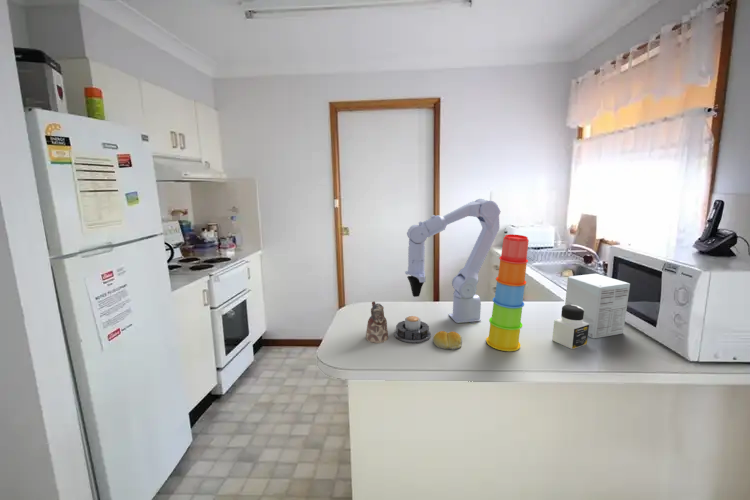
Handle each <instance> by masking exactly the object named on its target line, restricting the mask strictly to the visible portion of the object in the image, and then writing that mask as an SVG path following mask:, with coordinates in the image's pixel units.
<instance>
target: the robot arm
mask: <svg viewBox="0 0 750 500" xmlns="http://www.w3.org/2000/svg"><path fill="white" fill-rule="evenodd" d="M499 207H500V206H498V204H497V202H495V201H493V200H487V199H485V198H478V199H476V200H472V201H470V202H468V203H466V204H463V205H462V206H460V207H458V208H456V209H455V210H453V211H450V212H448V213H447V214H445V215H443V216H442V215H438V214H436V215H435V214H432V215H430V218H428V219H426V220H424V221H419V222H418V224H413V225H410V226H409V228H408V229H407V232H406V236H407V238H408V247H407V248H408V254H407V255H408V257H407V258H408V259H407V260H408V263H407V264H408V266H407V270H406V271H404V274H405V275H408V276H407V280H408V282H409V286H410V289H411V293H412V297H414V298H415V297H417V298H418V297H420V295H421V292H422V289H423V288H422V287H423V285H424V283H426V276H425V275H426V271H425V262H426V261H425V257H426V256H425V255H426V254H425V253H426V250H425V249H426V247H425V245H426V244H425V243H426V241H427V238H431V237H433V236H435V235H436V234H439V233H441V232H443V231H445V230H446V228H447V225H450V224H452V223H455V222H457V221H460V220H462V219H465V218H467V217H475V218H477V219H478V221H479V223H480V225H481V227H482V228H481V230H480V233H479V235H478V237H477V239H476V241H475V244H474V245H473V247H472V250H471V252H470V254H469V256H468V257H467V260H466V263H465V265H464V267H462V268H461V269H460V270H459V271H458V273H457V274H456V275H455V276H454V277H453V279H452V280H451V284H452V287H453V289H454V291H453V296H452V297H453V298H452V312H451V313H449V314H448V316H449V317H450V318H451V319H452V320H453V321H454V322H455V323H456V324H460V323H473V322H475V323H476V322H481V320H482V319H481V309H482V307H481V306H482V304H481V298H480V296H479V295H478V294H476V293H477V285H478V283H479V273H480V270H481V269H482V266H483V264H484V262H485V261H486V257H487V256H488V254H489V251H490V249H491V248H492V245H493V243H494V241H495V239H496V237H497V235H498V232H499V231H500V214H501V210H500V208H499Z"/></svg>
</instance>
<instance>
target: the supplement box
mask: <svg viewBox="0 0 750 500" xmlns="http://www.w3.org/2000/svg"><path fill="white" fill-rule="evenodd" d="M630 288H631V283H629V282H626V281H623V280H619V279H616V278H611V277H610V276H606V275H602V274H599V273H589V274H582V275H581V274H580V275H572V276H570V275H569V276H568V277H567V281H566V293H565V301H564V302H565V303H564V305H576V306H579V307H581V308H583V310H584V316H583V321H584V322H586V323H589V330H588V337H590V338H592V339H599V338H600V339H601V338H604V337H609V336H616V335H621V334H622V335H623V334H624V330H625V323H626V315H627V314H626V313H627V308H628V302H629V301H628V300H629V295H630Z"/></svg>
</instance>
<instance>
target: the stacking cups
mask: <svg viewBox="0 0 750 500" xmlns="http://www.w3.org/2000/svg"><path fill="white" fill-rule="evenodd" d="M528 249H529V238H528V236H525V235H521V234H510V233H509V234H506V235H505V236H504V237H503V240H502V249H501V255H500V256H499V257H498V259H499V267H498V273H497V277H496V278H495V282H496V287H495V294H494V297H493V298H492V302H493V305H492V312H491V317H490V318H489V319H488V321H489V324H490V326H489V331H488V336H487V337H486V338H485V341H486V343H487V344H488V346H490V347H491V348H493V349H495V350H498V351H502V352H516V351H518V350H519V349H521V346H522V345H521V343H520V333H521V329H522V328H523V323H522V321H521V320H522V315H523V314H522V312H523V307H525V302H524V294H525V286H526V285H527V281H526V273H527V265H528V264H527V263H529V260H528V252H529V251H528Z"/></svg>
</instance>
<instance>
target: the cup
mask: <svg viewBox="0 0 750 500" xmlns="http://www.w3.org/2000/svg"><path fill="white" fill-rule="evenodd" d="M404 318H405V319H404V321H405V329H407V330H412V331H413V330H419V329H420V321H421V318H420V317H418V316H415V315H411V316H406V317H404Z"/></svg>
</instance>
